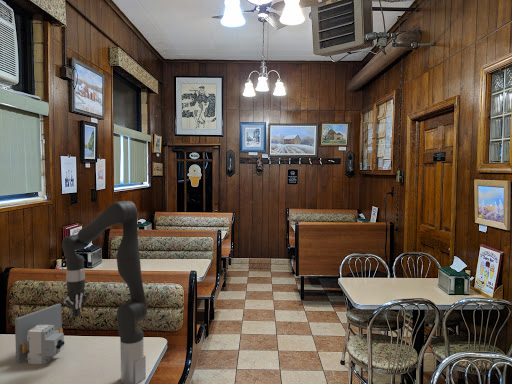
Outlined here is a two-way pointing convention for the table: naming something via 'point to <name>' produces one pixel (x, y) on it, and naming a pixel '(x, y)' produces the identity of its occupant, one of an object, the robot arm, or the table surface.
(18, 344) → the mounting panel
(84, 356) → the table surface
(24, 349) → the din rail
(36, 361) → the circuit breaker
